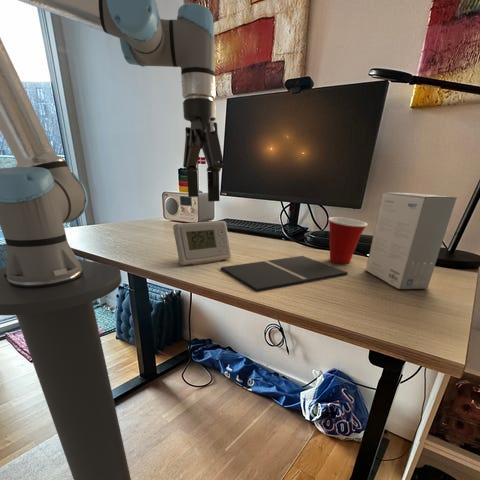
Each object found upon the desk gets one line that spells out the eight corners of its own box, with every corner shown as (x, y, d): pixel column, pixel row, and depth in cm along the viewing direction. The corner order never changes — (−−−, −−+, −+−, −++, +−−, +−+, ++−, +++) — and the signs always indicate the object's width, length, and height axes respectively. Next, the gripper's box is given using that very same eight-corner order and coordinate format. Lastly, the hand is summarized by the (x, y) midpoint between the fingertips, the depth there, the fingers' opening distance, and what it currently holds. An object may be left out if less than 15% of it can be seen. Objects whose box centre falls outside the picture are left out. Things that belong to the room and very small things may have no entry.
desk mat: (256, 291, 66) (257, 288, 66) (220, 269, 80) (220, 266, 79) (347, 274, 78) (347, 271, 78) (302, 257, 92) (302, 255, 92)
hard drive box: (428, 289, 69) (459, 197, 60) (398, 290, 68) (425, 196, 59) (389, 269, 83) (409, 191, 74) (364, 270, 82) (381, 191, 73)
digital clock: (178, 267, 80) (175, 226, 75) (173, 258, 88) (170, 220, 83) (235, 262, 85) (236, 224, 81) (225, 254, 93) (225, 219, 88)
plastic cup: (356, 268, 83) (365, 224, 78) (317, 262, 88) (323, 220, 82) (362, 259, 92) (371, 219, 86) (327, 254, 96) (333, 215, 91)
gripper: (239, 92, 61) (238, 202, 71) (194, 109, 80) (198, 194, 90) (205, 87, 58) (209, 204, 67) (167, 106, 77) (174, 195, 87)
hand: (202, 199), depth 79 cm, fingers open, 13 cm apart
